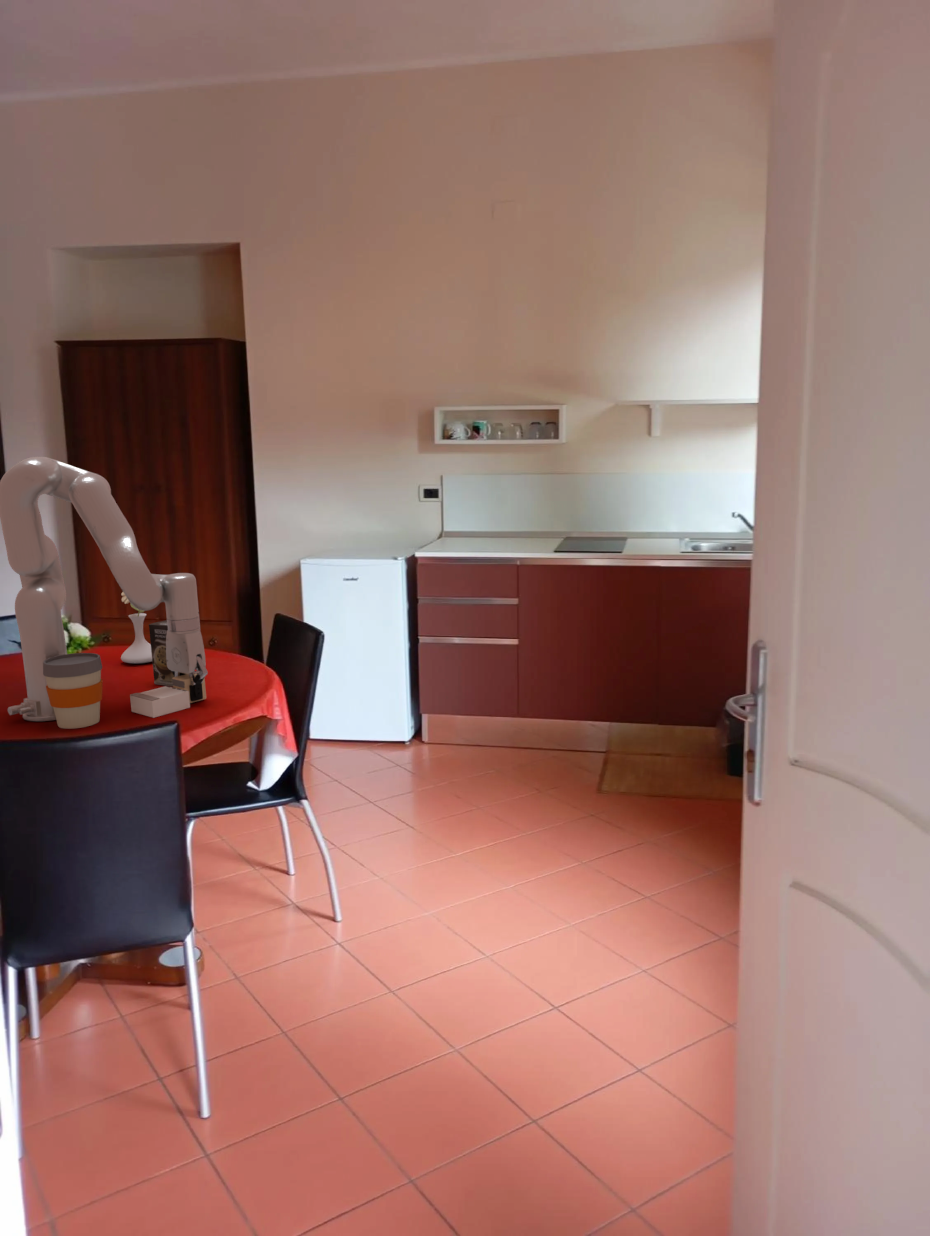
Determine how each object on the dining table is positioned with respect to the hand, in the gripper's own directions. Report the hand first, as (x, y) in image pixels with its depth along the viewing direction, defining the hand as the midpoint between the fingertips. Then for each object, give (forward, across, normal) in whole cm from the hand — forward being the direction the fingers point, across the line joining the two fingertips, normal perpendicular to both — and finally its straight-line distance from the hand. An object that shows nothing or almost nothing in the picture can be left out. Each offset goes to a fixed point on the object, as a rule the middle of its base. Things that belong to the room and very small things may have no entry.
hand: (190, 697), depth 241 cm
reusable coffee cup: (+1, -7, -25) cm, 26 cm away
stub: (+1, 0, 0) cm, 1 cm away
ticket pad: (+1, 0, -8) cm, 8 cm away
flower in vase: (+1, -48, +18) cm, 51 cm away
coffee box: (+1, -19, +9) cm, 21 cm away
